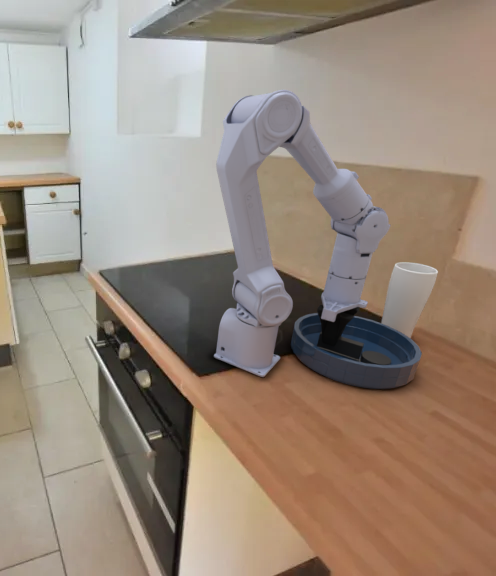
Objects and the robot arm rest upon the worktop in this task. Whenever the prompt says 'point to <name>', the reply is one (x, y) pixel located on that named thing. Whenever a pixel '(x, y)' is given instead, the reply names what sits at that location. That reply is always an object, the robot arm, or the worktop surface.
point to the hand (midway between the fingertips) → (329, 341)
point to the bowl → (353, 370)
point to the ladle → (355, 351)
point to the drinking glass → (407, 295)
